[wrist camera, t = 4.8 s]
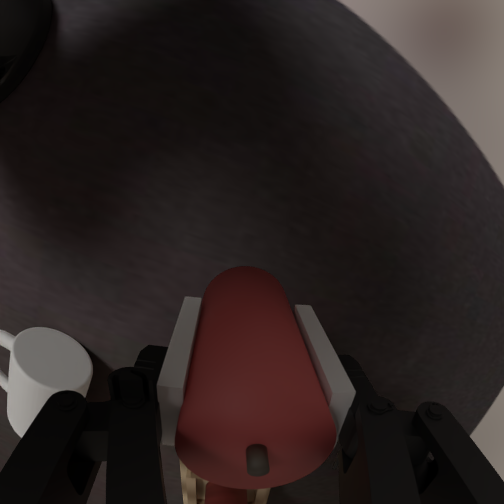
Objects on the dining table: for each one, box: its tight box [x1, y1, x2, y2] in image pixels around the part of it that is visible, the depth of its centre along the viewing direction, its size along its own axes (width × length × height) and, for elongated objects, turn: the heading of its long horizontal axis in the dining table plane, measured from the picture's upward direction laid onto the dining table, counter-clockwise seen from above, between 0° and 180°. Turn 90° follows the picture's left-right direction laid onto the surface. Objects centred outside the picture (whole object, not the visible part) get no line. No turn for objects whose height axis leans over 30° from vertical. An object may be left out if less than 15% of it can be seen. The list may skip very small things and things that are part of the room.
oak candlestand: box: [180, 460, 271, 504], centre depth 23 cm, size 24×10×14 cm, turn 174°
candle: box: [175, 266, 337, 489], centre depth 12 cm, size 5×5×11 cm
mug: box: [0, 327, 93, 438], centre depth 23 cm, size 12×10×8 cm
